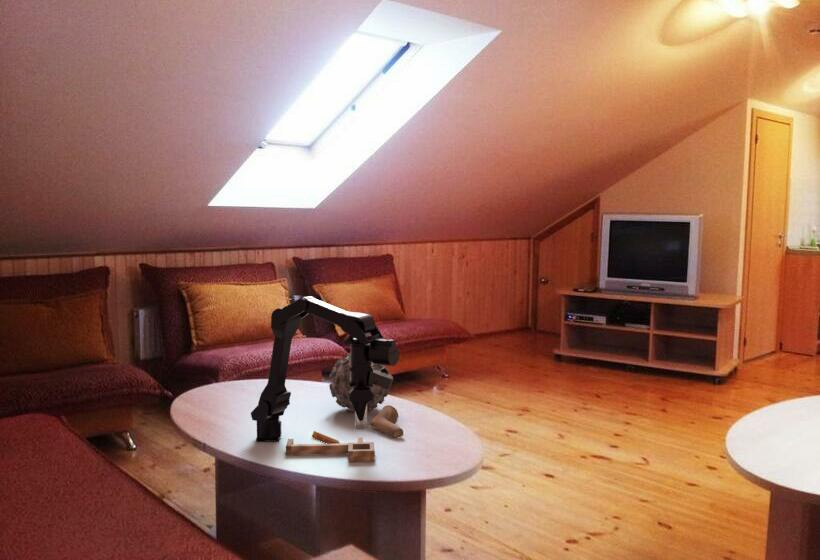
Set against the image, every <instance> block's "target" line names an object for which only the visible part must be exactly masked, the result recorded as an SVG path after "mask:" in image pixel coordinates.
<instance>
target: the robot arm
mask: <svg viewBox="0 0 820 560" xmlns="http://www.w3.org/2000/svg"><path fill="white" fill-rule="evenodd" d="M309 314H310V315H311V316H314V317H317V318H319V319H321V320H323V321H326V322H329V323H330V324H331V323H332V324H334V325H336V326H338V327H339V328H340V329H341V331H342V332H343V333H345V334H346V335H348V336H347V338H346V339H345V340H344V341H343V345H348V346H350V347H349V348H350V350H349V351H350V352H349V354H350V386H353V388H352V389H350V391H349V401H351V402H352V405H353V407H354V409H355V412H356V414H357V417H358V419H359V421H363V419H364V414H365V410H366V405H367V403H368V402H369V401H374V393H373V390H372V389H371V388H370V387H373V384H375V385H377V386H380V387H383V388H384V389H386V390H388V391H389V390H390V389H391V385H392V383H393V381H394V377H393V375H392V374H390V373H389V370H388V368H387V369H386V368H384V367H385V366H391V367H395V366H396V365H397V364H398V362H399V359H400V350H399V347H398V345H397V344H396V340H395V339H394V338H393V339H392V338H391V339H384V336H383V335H382V333H381V331H380V329H379V328H378V326H377V324H376V322H375V319H374V317H373V316H372V315H371V314H368V313H363V312H355V311H347V310H344V309H342V308H339V307H337V306H334V305H332V304H330V303H327V302H325V301H323V300H319V299H317V298H315V297H314V296H312V295H311V296H310V295H308V296H303V297H300V298H298V299H297V300H295V301H294V302H292V303H290V304H288V305H286V306H284V307H280V308H276V309H274V310H273V311H272V312H271V315H270V328H271V331H272V334H273V336H274V339H273V344H272V345H273V346H272V351H271V359H270V364H269V373H268V378H267V379H268V380H267V383H266V385H265V387H264V389H263V390H262V391H261V392H260V396H259V399H258V402H257V403H258V404H257V405H256V406H255V408H254V409H253V410H252V411H251V412H250V416H251V419H252V421H255V422H256V438H255V442H278V441H279V440H280V438H281V437H282V433H283V432H282V421H281V420H280V417H281V416H284V414H285V410H286V409H287V408H288V406H289V405H290V404H291V402H290V399H291V395H292V392H291V391H289V390H287V387H286V378H287V372H288V365H289V360H290V359H289V358H290V355H291V354H290V353H291V348H292V347H291V346H292V340H293V338H294V336H295V334H296V333H297V332H298V330H299V327H300V324H301V321H302V319H304V318H305V317H306V316H308V315H309ZM372 363H374V364H381V365H384V367H382V368H381V369H380V370H374V369H373V365H372ZM388 373H389V374H388ZM368 386H369V387H368Z"/></svg>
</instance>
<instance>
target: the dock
mask: <svg viewBox="0 0 820 560" xmlns="http://www.w3.org/2000/svg"><path fill="white" fill-rule="evenodd" d="M286 441H287V442H286V445H285V456H305V455H304V454H323V455H347V457H348V459H347V461H348V463H369V462H370V463H373V462H376V461H375V457H376V456H375V455H376V454H375V453H376V451H375V450H376V448H375V442H374V441H373V442H371V441H367V442H366V441H365V442H364V438H363V437H360V436H359V437H358V436H357V442H346V443H345V442H344V443H340V442H339V444H325V443H303V444H302V443H301V444H300V443H299V444H296V443H295V444H294V438H287V440H286Z"/></svg>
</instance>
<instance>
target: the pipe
mask: <svg viewBox="0 0 820 560" xmlns="http://www.w3.org/2000/svg"><path fill="white" fill-rule="evenodd" d="M398 419H399V413H398V410H397V408H396V407H394V406H392V405H390V404H389V405H388V404H387V405H384V406H383V408H382V409H381V410H379V412H377V414H376V415H375V417H374V418H373V419H372V420H371V422H370V423H369V427H370V428H372V429H374V430H376V431H379V432H380V433H382V434H384V435H387V436H388V437H390V436H391V438H393V439H395V438H396V439H399V438H398V437H400V438H401V437H403V436H404V430H403V428H401V427H400V426H398V425H396V424H397V422H398Z"/></svg>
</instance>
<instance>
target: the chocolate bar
mask: <svg viewBox="0 0 820 560" xmlns="http://www.w3.org/2000/svg"><path fill="white" fill-rule="evenodd" d="M311 437H313V438H315V439H314V440H316V439H317V440H316V441H318V440H320V441H319V442H321V441H322V442H321V443H323V442H325V443H327V444H339V443H340V441H339V440H338V439H335V438H333V437H330V436H327V435H325V434H322V433H320V432H317V431H315V430H314V431H313V432H312V434H311ZM313 438H312V439H313ZM325 443H324V444H325Z"/></svg>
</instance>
